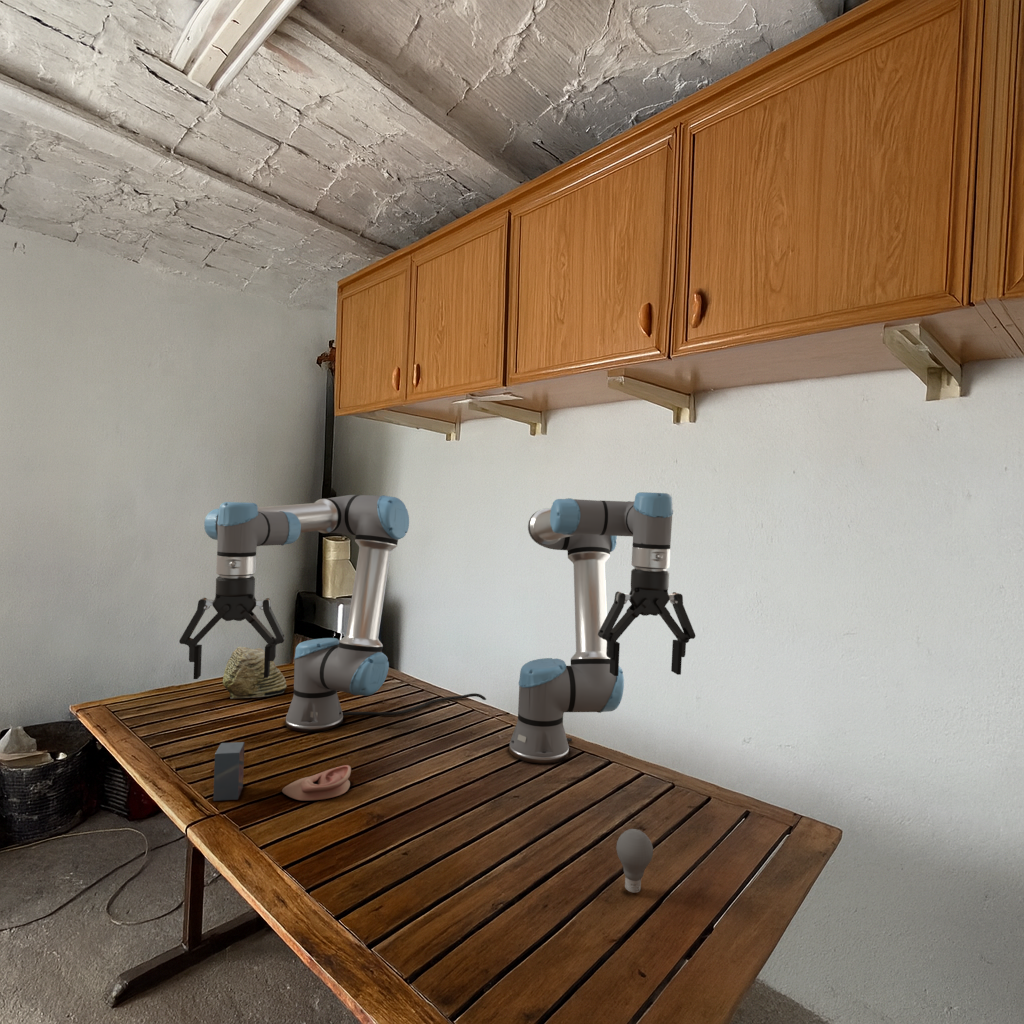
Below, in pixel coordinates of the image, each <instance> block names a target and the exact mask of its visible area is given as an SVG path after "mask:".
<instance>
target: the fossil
mask: <svg viewBox="0 0 1024 1024" xmlns="http://www.w3.org/2000/svg"><path fill="white" fill-rule="evenodd" d="M264 661H265V649H263V648H260V647H258V648H251V647H247V646H246V647H245V646H238V647H237V648H236V649H235V650H233V651H232V653H231V656H230V657H229V659H228V660H227V663H226V666H225V668H224V671H223V675H222V676H223V677H222V685H223V687H224V688H225V690H226V691H228V693H229V698H230V699H250V698H264V697H271V696H275V695H281V694H284V693H285V691H286V689H287V687H288V686H287V680H286V678H285V676H284V674H283V673H282V672H281V669H279V668H278V667H277V665H276V663H275V662H274V661H275V660H274V661H270V674H269V676H268V678H264Z"/></svg>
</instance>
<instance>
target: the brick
mask: <svg viewBox="0 0 1024 1024" xmlns="http://www.w3.org/2000/svg"><path fill="white" fill-rule="evenodd" d="M213 769H214V771H213V774H214V775H213V796H212V798H213V799H212V801H213V802H221V801H235V800H239V798H240V796H241V793H242V790H243V788H244V769H245V741H238V742H237V741H235V742H221V743H219V746H218V748H217V749H216V751H215V753H214V767H213Z"/></svg>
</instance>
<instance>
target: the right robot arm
mask: <svg viewBox="0 0 1024 1024" xmlns="http://www.w3.org/2000/svg"><path fill="white" fill-rule="evenodd" d="M673 514H674V509H673V497H672V495H671V494H670V493H668V492H666V493H665V492H649V491H648V492H647V491H646V492H645V491H644V492H637V493H636V494H635V496H634V501H630V500H628V501H623V500H593V499H575V498H569V497H568V498H556V499H555V500H554V501H553V502H552V504H551V507H549V508H547V507H545V508H542V509H539V510H537V511H535V512H534V513H533V514H532V515H531V516H530V518H529V520H528V524H527V531H528V535H529V536H530V538H531V540H532V541H533V542H534V543H536V544H537V545H539V546H541V547H543V548H546V549H549V550H555V551H567V559H568V560H569V561H570V562H571V563H572V564H573V590H574V591H573V592H574V593H573V594H574V595H573V597H574V627H575V653H574V654H573V655H572V656H571V657H570V665H567V664H566V661H565V660H563V659H560V658H552V657H545V658H537V659H532V660H529V661H527V662H526V663H525V664H523V665H522V666H521V668H520V671H519V680H518V705H517V707H518V708H517V722H516V724H515V726H514V730H513V733H512V734H511V735H512V736H511V738H510V740H509V745H508V746H509V750H508V751H509V753H510V755H511V756H512V757H514V758H516V759H518V760H520V761H524V762H526V763H530V764H531V763H532V764H541V765H544V764H545V765H547V764H556V763H559V762H562V761H564V760H567V758H568V757H569V755H570V754H569V753H570V746H569V743H570V742H573V738H571V737H567V734H566V730H565V726H564V713H598V714H599V713H600V714H601V713H606V712H613V711H615V710H616V709H618V708H619V706H620V704H621V702H622V699H623V695H624V690H625V689H624V688H625V675H624V674H623V673H624V671H623V668H622V667H621V666H620V645H621V644H620V642H619V641H618V639H620V637H621V636H622V635H623V634H624V632H625V631H626V630H627V629H628V627H630V625H631V624H632V623H633V622H634V620H636V618H638V617H639V616H640V615H641V616H643V617H644V616H653V617H654V616H658V615H659V617H661V619H662V620H663V622H664V623H665V624H666V626H667V627H668V629H669V630H670V631H671V632H672V634H673V636H675V638H676V639H672V645H671V646H672V649H671V667H670V671H671V672H672V673H674V674H676V675H677V676H678V675H679V676H680V675H682V663H683V662H682V661H683V658H685V657H686V651H687V650H686V649H687V644H688V643H689V642H690V640H691V639H692V640H693V639H694V640H695V638H696V633H695V630H694V628H693V625H692V623H691V620H690V618H689V616H688V613H687V611H686V608H685V606H684V596H683V594H682V593H680V592H676V591H673V592H671V593H669V588H670V572H669V571H668V569H669V568H670V567H671V566H670V564H671V541H672V525H673ZM618 537H632V546H631V547H632V552H631V566H632V569H631V571H630V591H629V593H624V592H621V591H615V594H614V599H613V604H612V605H611V607H610V609H609V611H608V605H607V604H608V603H607V581H606V563H607V561H608V559H610V558H611V552H614V550H615V549H616V547H617V540H618ZM628 601H629V602H630V605H629V606H628V608H627V609H626V612H624V614H623V615H622V617H621V618H619V617H620V615H621V613H622V611H623V609H624V607H625V605H626V604H627V603H628ZM669 602H670V604H671V605H672V607H673V610H674V612H675V615H676V617H677V620H678V622H679V624H678V623H677V622H676V620H675V619H674V617H673V616H672V615H671V612H670V611H669V609H668V608H667V604H668V603H669ZM618 619H619V620H618Z"/></svg>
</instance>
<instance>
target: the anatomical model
mask: <svg viewBox="0 0 1024 1024" xmlns="http://www.w3.org/2000/svg"><path fill="white" fill-rule="evenodd" d="M351 772H352V768H351V765H349V764H346V765H345V764H344V765H340V766H337V767H333V768H330V769H326V770H324V771H321V772H319V773H316V774H313V775H311V776H306V777H302V778H299V779H297V780H295V781H293V782H291V783H289V784H287V785H286V786H284V787H283V788H282V790H281V792H282V793H283V794H284V795H286V796H287V797H289V798H291V799H294V800H297V801H302V802H303V801H305V802H308V801H319V800H326V799H331V798H335V797H338V796H342V795H343V794H345V793H346V792H348V790H349V789H350V787H351V781H350V780H349V779H350V776H351Z"/></svg>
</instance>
